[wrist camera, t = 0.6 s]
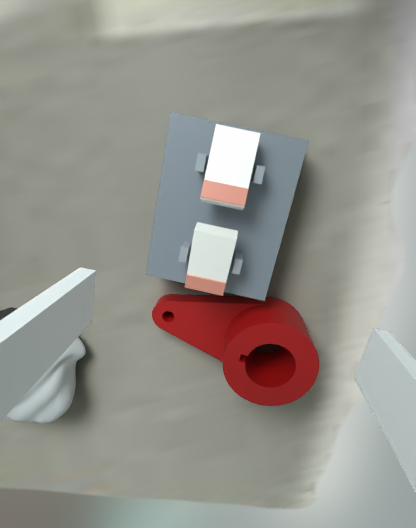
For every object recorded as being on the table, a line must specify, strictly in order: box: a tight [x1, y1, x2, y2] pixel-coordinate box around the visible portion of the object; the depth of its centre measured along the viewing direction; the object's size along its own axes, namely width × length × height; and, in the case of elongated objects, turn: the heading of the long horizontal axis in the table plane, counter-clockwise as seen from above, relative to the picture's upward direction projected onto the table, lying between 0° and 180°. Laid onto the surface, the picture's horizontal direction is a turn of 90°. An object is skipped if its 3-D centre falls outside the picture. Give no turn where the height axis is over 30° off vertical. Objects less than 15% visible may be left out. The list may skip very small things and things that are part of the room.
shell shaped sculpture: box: [5, 337, 86, 423], centre depth 39 cm, size 13×13×6 cm
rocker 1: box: [200, 124, 261, 210], centre depth 26 cm, size 6×4×2 cm, turn 169°
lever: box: [152, 294, 319, 406], centre depth 35 cm, size 18×9×7 cm, turn 76°
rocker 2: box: [185, 222, 238, 296], centre depth 29 cm, size 6×4×2 cm, turn 169°
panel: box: [146, 112, 309, 301], centre depth 31 cm, size 15×12×7 cm
